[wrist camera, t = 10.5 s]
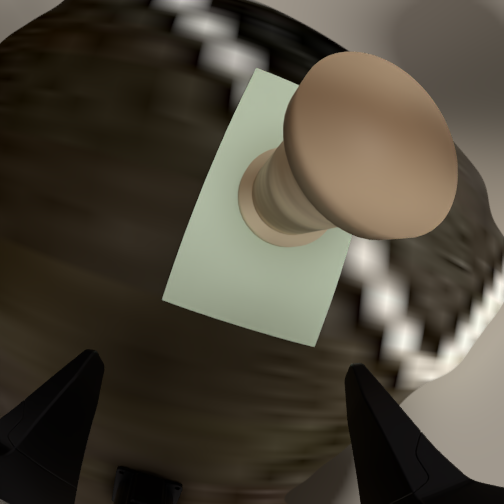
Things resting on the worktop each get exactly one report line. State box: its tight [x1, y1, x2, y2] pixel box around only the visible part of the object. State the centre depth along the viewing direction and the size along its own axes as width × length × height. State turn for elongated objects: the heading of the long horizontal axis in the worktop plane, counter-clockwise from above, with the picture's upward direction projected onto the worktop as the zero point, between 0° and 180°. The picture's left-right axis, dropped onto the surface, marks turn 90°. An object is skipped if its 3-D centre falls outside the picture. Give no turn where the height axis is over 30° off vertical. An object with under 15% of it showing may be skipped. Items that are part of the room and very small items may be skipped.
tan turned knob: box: [238, 52, 458, 247], centre depth 15 cm, size 7×7×13 cm
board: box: [162, 68, 352, 347], centre depth 22 cm, size 20×12×1 cm, turn 160°
